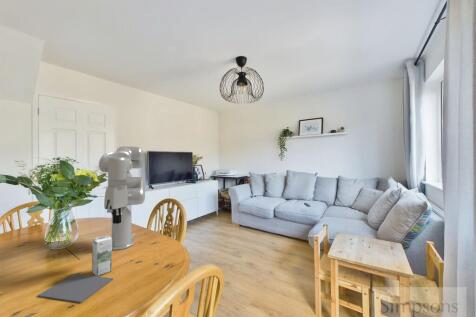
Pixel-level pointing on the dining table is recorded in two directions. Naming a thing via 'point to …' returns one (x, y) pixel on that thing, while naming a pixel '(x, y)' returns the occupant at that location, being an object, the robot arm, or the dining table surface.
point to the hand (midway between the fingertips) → (117, 223)
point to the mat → (76, 288)
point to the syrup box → (102, 255)
